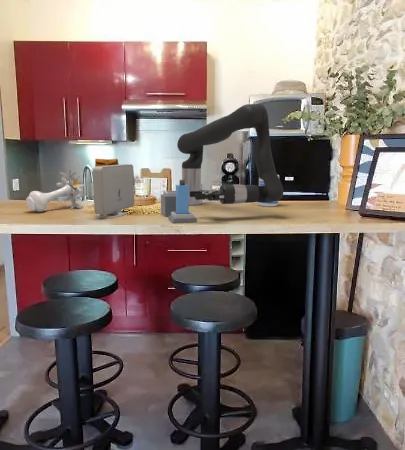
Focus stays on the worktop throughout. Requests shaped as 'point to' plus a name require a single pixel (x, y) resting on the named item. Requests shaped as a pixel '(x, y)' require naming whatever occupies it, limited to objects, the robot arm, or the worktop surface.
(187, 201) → the blue plug
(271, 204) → the supplement tub
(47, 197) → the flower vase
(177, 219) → the plate
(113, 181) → the network device
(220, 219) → the worktop surface
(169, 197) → the grey block
